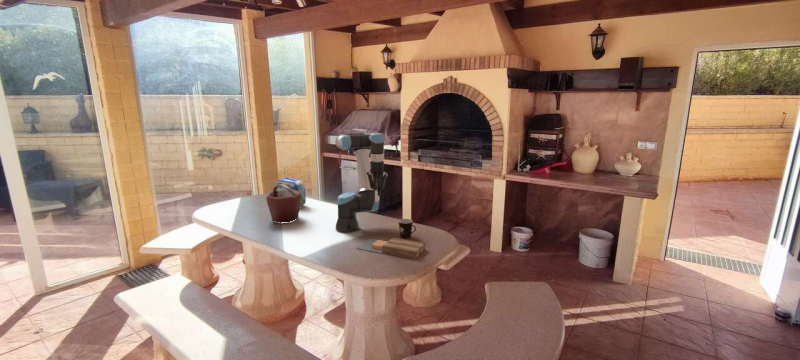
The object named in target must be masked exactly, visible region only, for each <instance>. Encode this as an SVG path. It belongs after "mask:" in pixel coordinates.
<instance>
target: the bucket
mask: <svg viewBox="0 0 800 360" xmlns="http://www.w3.org/2000/svg"><path fill="white" fill-rule="evenodd" d="M279 186H282V187H284V188H285V189H287V190H280V191H277V188H278V187H279ZM300 202H301V193H299V192H298V191H296V190H292V189H291V188H289V187H288V186H286V185H283V184H280V185H277V184H276V185H275V186H273V188H272V191H270V192H269V193H268V194H267V195H266V203H267V204H266V205H267V207H268V210H269V213H270V216H271V220H272V222H273V221H276V222H280V223H281V222H290V221H293V220H295V219H297V218H298V219H299V216H300V215H299V214H300V207H301V206H300ZM298 219H297V220H298ZM295 221H296V220H295ZM280 223H279V224H280Z"/></svg>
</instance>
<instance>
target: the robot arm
mask: <svg viewBox="0 0 800 360" xmlns="http://www.w3.org/2000/svg"><path fill="white" fill-rule="evenodd" d="M334 143H335V146H336V147H337V148H338V149H340V150H342V151H352V152H353V154H354V156H355V158H356V159H355V160H356V166H357V167H356V168H357V177H358V184H359V190H358V192H357V194H356V193H355V192H352V191H351V192H345V193H341V194H339V195H338V197H337V201H336V202H337V203H336V204H337V220H336V224H335V231H337V232H338V231H339V233H347V234H348V233H354V232H357V231H358V230H359V229H360V224H359V221H358V219H357V214H359V213H368V212H369V213H370V212H376V211H377V210H378V209H379V205H380V196H381V195H382V194H381V193H382V192H381V191H382V190H384V189H385V185H386V181H387V177H388V176H389V173H387V172H386V171H385V169H384V167H385V162H384V160H385V154H384V153H385V152H384V150H385V135H384V133H381V132H373V133H368V132H350V133H349V132H346V133H345V132H344V133H343V134H340V135H338V136H336V138H335V142H334Z"/></svg>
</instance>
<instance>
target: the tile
mask: <svg viewBox="0 0 800 360" xmlns="http://www.w3.org/2000/svg"><path fill="white" fill-rule="evenodd" d="M376 240H377V241H376V242H374V243H373V244H372V248H374V249H380V250H382V246H383V245H384V244H385V243H387V242H388V241H386V240H381V239H376Z"/></svg>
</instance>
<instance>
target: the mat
mask: <svg viewBox="0 0 800 360" xmlns="http://www.w3.org/2000/svg"><path fill="white" fill-rule="evenodd" d="M377 240H378V239H375V238H368V239H367V240H365V241H364V242H363V243H362V244H360V245H358V246H357V247H356V249H357V250H361V251H365V252H366V251H367V252H372V253H378V254H383V253H382V250H380V249H374V248H372V244H373V243H374V242H376V241H377ZM356 249H355V250H356Z"/></svg>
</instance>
